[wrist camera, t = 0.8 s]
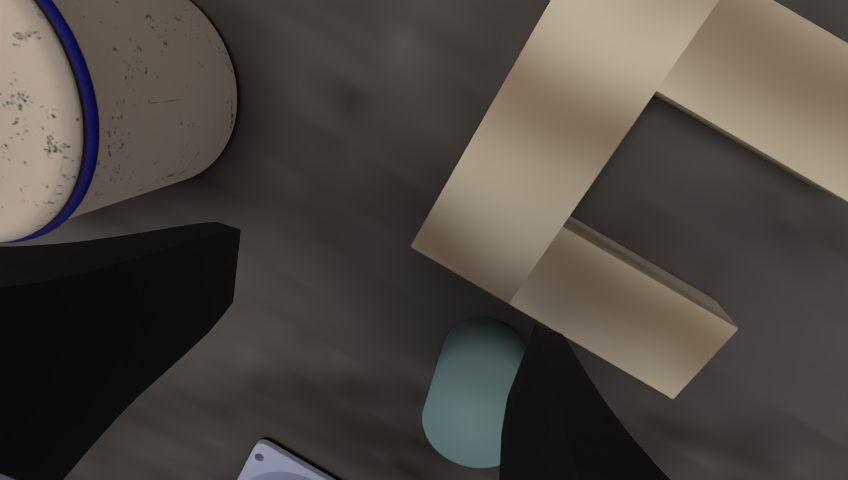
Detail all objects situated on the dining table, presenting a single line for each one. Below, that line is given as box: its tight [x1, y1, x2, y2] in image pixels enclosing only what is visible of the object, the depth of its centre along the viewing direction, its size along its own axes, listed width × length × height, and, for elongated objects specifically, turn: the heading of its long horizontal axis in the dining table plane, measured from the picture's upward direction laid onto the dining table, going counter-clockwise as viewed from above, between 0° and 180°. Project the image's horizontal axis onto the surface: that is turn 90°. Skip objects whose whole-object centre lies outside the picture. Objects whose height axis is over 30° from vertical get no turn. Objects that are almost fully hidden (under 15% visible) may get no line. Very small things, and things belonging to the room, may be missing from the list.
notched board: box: [410, 0, 848, 399], centre depth 19 cm, size 13×12×2 cm
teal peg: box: [422, 318, 526, 468], centre depth 22 cm, size 4×4×5 cm
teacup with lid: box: [0, 0, 237, 243], centre depth 18 cm, size 12×9×12 cm
